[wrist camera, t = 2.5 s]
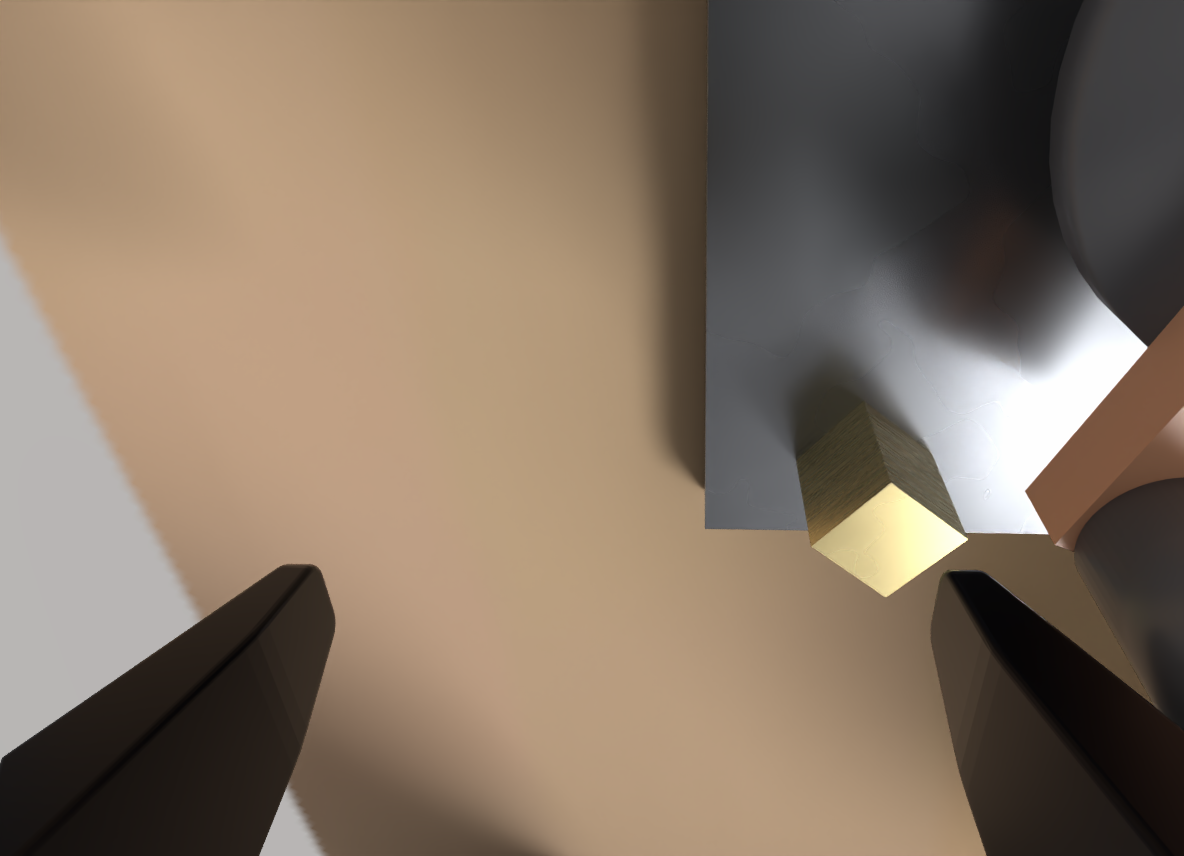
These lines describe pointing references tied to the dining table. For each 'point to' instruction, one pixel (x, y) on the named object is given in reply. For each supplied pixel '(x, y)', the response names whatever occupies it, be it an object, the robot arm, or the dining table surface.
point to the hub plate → (890, 276)
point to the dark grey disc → (1146, 306)
